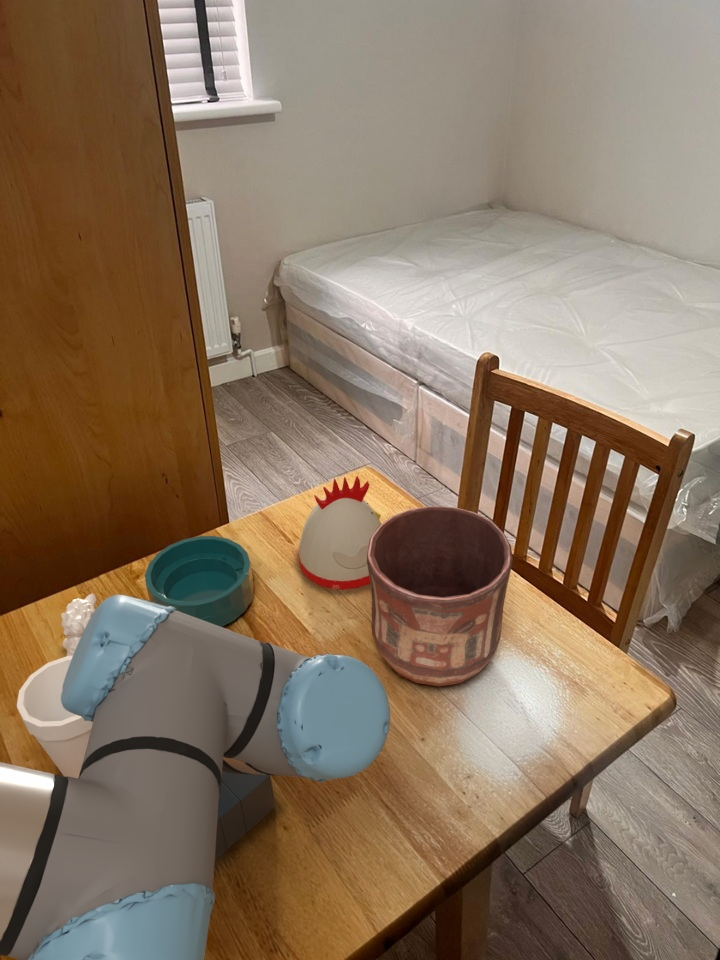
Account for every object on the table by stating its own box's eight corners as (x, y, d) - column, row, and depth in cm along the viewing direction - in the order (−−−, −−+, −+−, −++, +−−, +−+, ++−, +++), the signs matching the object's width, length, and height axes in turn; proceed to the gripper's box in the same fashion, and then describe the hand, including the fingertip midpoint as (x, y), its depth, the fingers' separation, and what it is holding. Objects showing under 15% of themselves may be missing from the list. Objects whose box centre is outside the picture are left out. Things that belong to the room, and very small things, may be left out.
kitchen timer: (399, 579, 109) (400, 498, 101) (310, 597, 107) (303, 516, 98) (374, 523, 120) (373, 447, 112) (292, 539, 118) (284, 461, 109)
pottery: (351, 621, 102) (347, 520, 92) (465, 592, 107) (474, 493, 96) (395, 722, 89) (396, 616, 78) (524, 684, 93) (542, 579, 83)
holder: (195, 878, 74) (185, 847, 70) (139, 810, 80) (127, 778, 76) (275, 807, 80) (270, 775, 76) (217, 749, 86) (210, 716, 83)
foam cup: (77, 722, 90) (48, 649, 82) (147, 734, 88) (124, 661, 80) (33, 792, 82) (-2, 719, 75) (109, 807, 80) (80, 733, 73)
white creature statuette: (68, 641, 100) (45, 576, 94) (131, 638, 101) (112, 573, 94) (46, 697, 93) (20, 631, 86) (115, 694, 93) (93, 628, 86)
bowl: (157, 647, 99) (149, 615, 96) (149, 578, 111) (141, 547, 107) (262, 622, 103) (258, 590, 99) (244, 557, 114) (240, 527, 111)
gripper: (202, 829, 53) (127, 809, 72) (347, 707, 61) (246, 718, 81) (148, 741, 53) (88, 744, 72) (301, 631, 62) (210, 660, 81)
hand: (171, 730), depth 76 cm, fingers closed on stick, 2 cm apart
